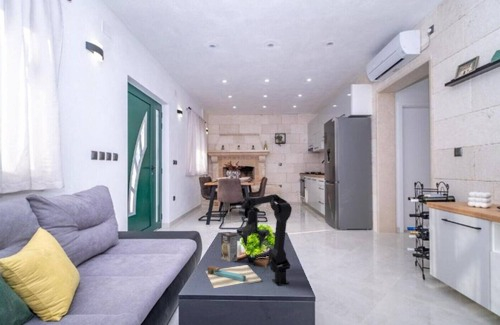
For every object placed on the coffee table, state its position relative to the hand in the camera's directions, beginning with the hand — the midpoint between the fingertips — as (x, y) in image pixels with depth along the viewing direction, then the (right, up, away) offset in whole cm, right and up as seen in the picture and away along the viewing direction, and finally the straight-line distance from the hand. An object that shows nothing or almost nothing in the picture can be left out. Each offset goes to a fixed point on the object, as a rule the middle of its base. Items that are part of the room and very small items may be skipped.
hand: (252, 246), depth 146 cm
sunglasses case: (+7, -13, +10) cm, 17 cm away
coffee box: (-15, -13, +13) cm, 23 cm away
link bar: (-12, -11, -14) cm, 22 cm away
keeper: (-20, -11, -10) cm, 25 cm away
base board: (-11, -12, -12) cm, 20 cm away
